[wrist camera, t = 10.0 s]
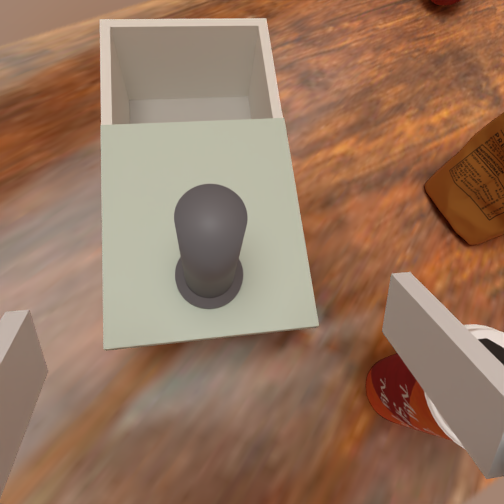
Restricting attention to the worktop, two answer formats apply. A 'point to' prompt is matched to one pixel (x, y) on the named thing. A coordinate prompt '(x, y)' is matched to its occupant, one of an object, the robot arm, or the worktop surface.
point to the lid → (201, 233)
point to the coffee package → (474, 186)
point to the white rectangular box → (186, 70)
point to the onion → (444, 2)
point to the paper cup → (413, 392)
